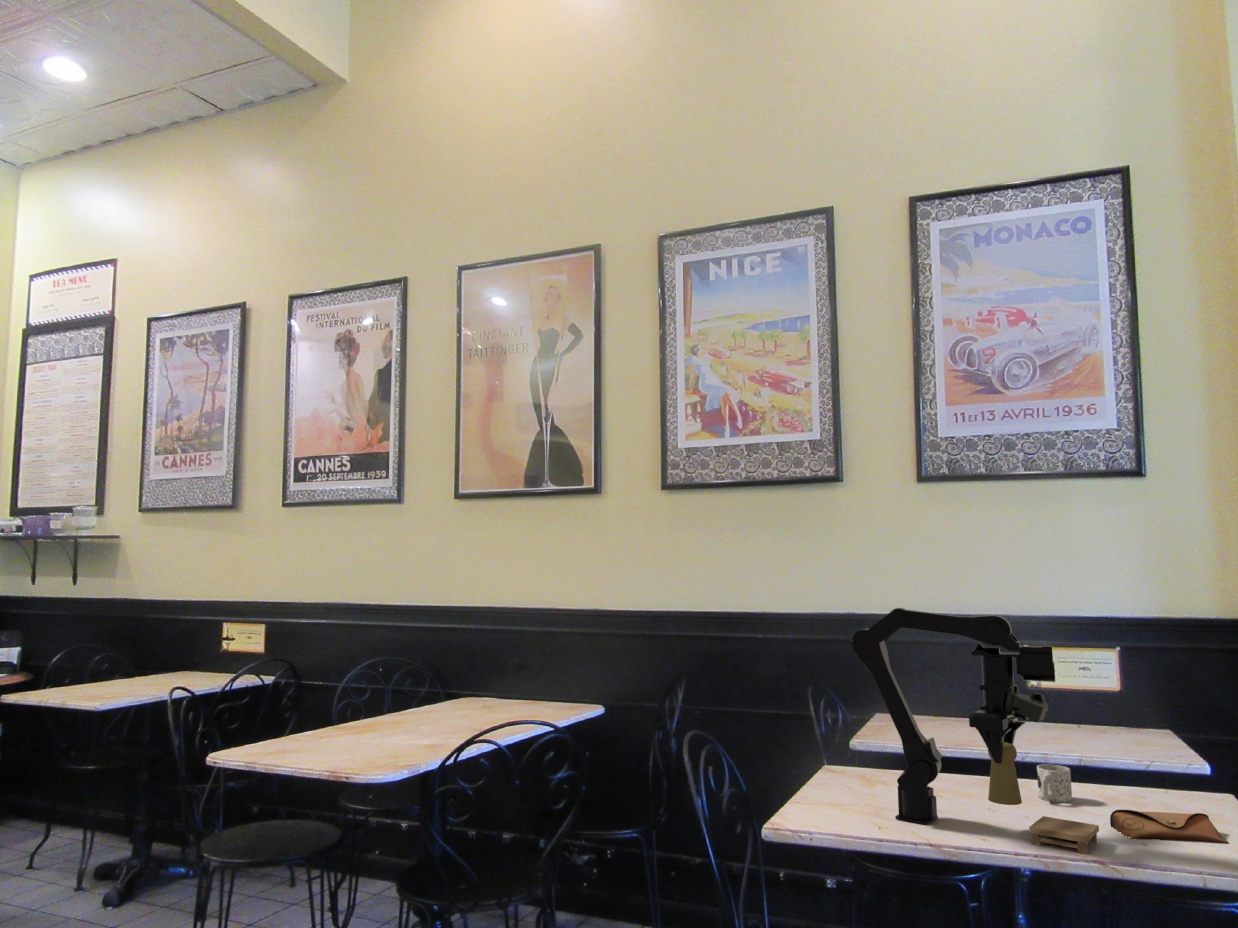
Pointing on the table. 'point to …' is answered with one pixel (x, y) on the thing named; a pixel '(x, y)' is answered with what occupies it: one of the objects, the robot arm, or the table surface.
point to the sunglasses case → (1165, 826)
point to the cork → (1004, 778)
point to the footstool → (1064, 832)
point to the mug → (1054, 783)
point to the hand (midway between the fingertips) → (1002, 760)
